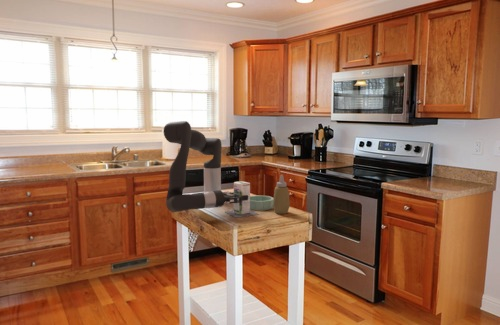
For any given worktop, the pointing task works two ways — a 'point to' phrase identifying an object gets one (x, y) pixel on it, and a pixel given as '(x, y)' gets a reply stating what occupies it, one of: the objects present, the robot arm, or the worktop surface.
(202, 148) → the robot arm
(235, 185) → the syrup box
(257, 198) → the bowl
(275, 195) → the squeeze bottle
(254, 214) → the mat
